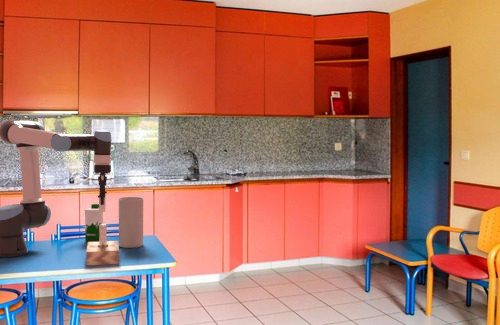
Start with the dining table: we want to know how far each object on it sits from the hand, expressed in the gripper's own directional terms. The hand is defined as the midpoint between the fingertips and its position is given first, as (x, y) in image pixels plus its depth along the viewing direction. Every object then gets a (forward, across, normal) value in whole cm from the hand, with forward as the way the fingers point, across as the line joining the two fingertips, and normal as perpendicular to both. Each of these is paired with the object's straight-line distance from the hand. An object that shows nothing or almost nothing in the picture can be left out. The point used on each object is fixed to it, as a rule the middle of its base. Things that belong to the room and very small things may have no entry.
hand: (102, 209), depth 234 cm
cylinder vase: (+23, +26, -14) cm, 38 cm away
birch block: (+23, 0, 0) cm, 23 cm away
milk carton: (+24, +42, +5) cm, 48 cm away
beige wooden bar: (+23, 0, 0) cm, 23 cm away
